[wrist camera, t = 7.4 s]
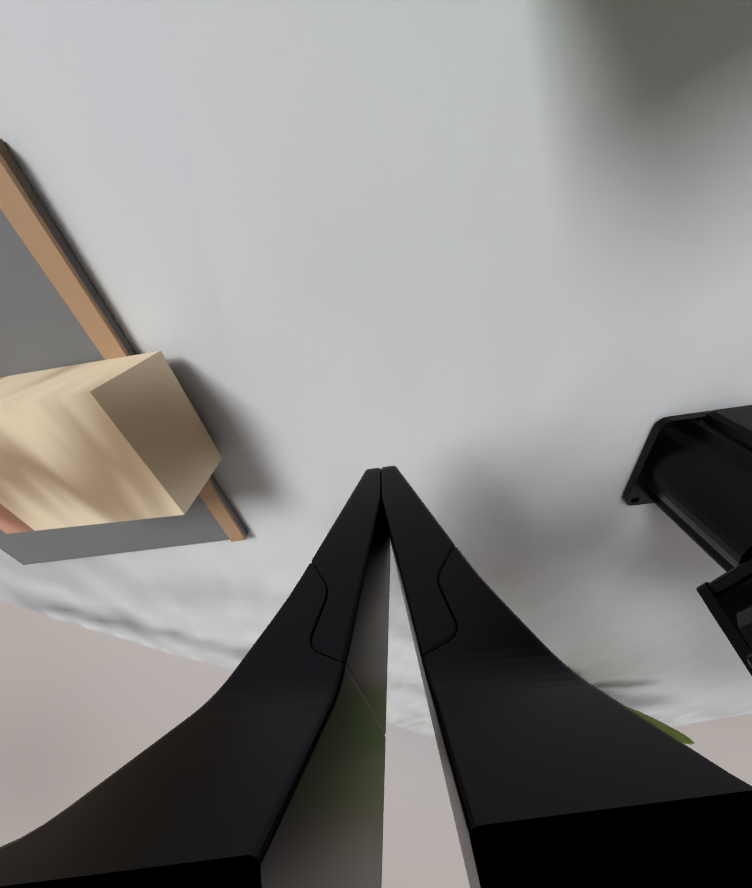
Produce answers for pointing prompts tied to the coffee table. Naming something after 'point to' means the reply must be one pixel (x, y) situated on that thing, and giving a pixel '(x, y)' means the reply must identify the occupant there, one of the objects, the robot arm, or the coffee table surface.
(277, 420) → the coffee table surface
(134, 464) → the maple block
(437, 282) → the coffee table surface
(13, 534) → the mat
